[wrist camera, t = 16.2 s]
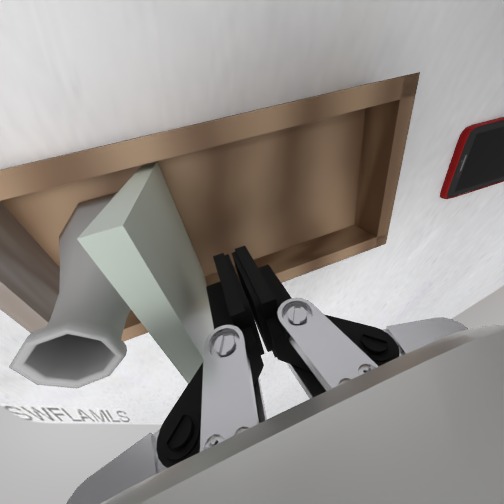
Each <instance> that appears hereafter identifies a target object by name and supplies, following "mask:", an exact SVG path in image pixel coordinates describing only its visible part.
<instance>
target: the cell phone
mask: <svg viewBox="0 0 504 504" xmlns="http://www.w3.org/2000/svg"><path fill="white" fill-rule="evenodd" d="M503 181H504V118H497V119H494V120H490V121H486V122H482V123H478V124H474V125H471V126H469V127H467V128H465V129H464V130H463V132H462V133H461V135H460V137H459V140H458V142H457V145H456V148H455V151H454V154H453V157H452V160H451V163H450V166H449V169H448V171H447V174H446V177H445V180H444V183H443V186H442V189H441V193H440V197H441V198H444V199H449V198H454V197H457V196H460V195H463V194H466V193H469V192H472V191H475V190H479V189H482V188H485V187H488V186H491V185H494V184H497V183H500V182H503ZM465 192H466V193H465ZM462 193H463V194H462ZM459 194H460V195H459Z"/></svg>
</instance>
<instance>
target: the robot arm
mask: <svg viewBox="0 0 504 504" xmlns="http://www.w3.org/2000/svg"><path fill="white" fill-rule="evenodd" d="M232 257H233V260H234V263H235V266H236V270H237V273H238V276H239V278H238V276H237V273H236V271H235V269H234V266H233V264H232V261H231V259H230V257H229V254H227V255H224V253H221V254H218V255H215V256H213V258H214V262H215V265H216V269H217V272H218V276H219V279H220V282H217V283H214V284H212V285H209V286H206V289H207V295H208V300H209V305H210V310H211V315H212V321H213V326H214V330H213V331H212V332H211V333H210V334H209V335H208V337H207V339H206V341H205V344H204V356H203V363H202V364H201V366H200V367H199V369H198V370H197V372H196V373H195V375H194V376H193V378H192V379H191V381H190V383H189V384H188V386H187V387H186V389H185V390H184V392H183V393H182V395H181V396H180V398H179V399H178V401H177V402H176V404H175V406H174V407H173V409H172V410H171V412H170V413H169V415H168V416H167V418H166V419H165V421H164V423H163V425H162V427H161V429H160V430H158V431H157V432H156V433H154V434H152V433H149V434H148V435H147V436H145V437H144V438H142V439H141V440H140V441H138V442H137V443H135V444H134V445H133V446H131V447H130V448H129V449H127V450H126V451H124V452H123V453H122V454H120V455H119V456H118V457H116V458H115V459H114V460H112V461H111V462H109V463H108V464H107V465H105V466H104V467H102V468H101V469H100V470H98V471H97V472H96V473H94V474H93V475H91V476H90V477H89V478H87V479H86V480H85V481H84V482H83V483H82V484H81V485H80V486H79V487H78V488H77V489H76V490H75V492H74V493H73V495H72V496H71V497H70V498H69V500H68V502H67V504H504V325H494V326H482V327H476V328H471V329H468V328H467V327H465V326H464V325H462V324H461V323H459V322H457V321H454V320H452V319H448V318H432V319H426V320H420V321H415V322H409V323H403V324H398V325H392V326H387V327H386V329H384V330H381V329H378V328H375V327H372V326H368V325H364V324H360V323H356V322H352V321H348V320H344V319H340V318H336V317H332V316H328V315H324V314H323V313H322V312H321V311H320V310H319V309H318V308H317V307H315V306H314V305H313V304H312V303H311V302H309V301H308V300H305V299H303V298H291V297H290V295H289V294H288V292H287V291H286V289H285V288H284V286H283V285H282V283H281V282H280V280H279V279H278V278H277V276H276V275H275V273H274V272H273V270H272V269H271V267H270V266H269V265H268V264H267V265H264V266H261V267H259V268H258V267H257V265H256V263H255V262H254V260H253V258H252V257H251V255H250V253H249V251H248V250H247V248H246V246H242V247H239V248H236V249H235V252H233V253H232ZM239 279H240V281H239ZM255 322H256V323H255ZM256 325H257V327H258V329H259V332H260V334H261V337H262V339H263V342H264V344H265V346H266V349H267V351H268V352H269V351H273V354H274V356H275V357H277V358H278V359H279V360H281V361H284V362H286V363H287V364H288V366H289V368H290V369H291V371H292V372H293V374H294V376H295V377H296V379H297V380H298V382H299V383H300V385H301V386H302V388H303V389H304V391H305V392H306V394H307V395H308V397H309V398H310V399H309V400H307V401H305V402H303V403H301V404H299V405H297V406H295V407H293V408H291V409H288V410H286V411H284V412H282V413H280V414H278V415H276V416H274V417H272V418H270V419H268V420H267V418H266V412H265V407H264V401H263V396H262V390H261V384H260V380H259V375H260V373H261V371H262V369H263V366H264V365H263V362H262V358H261V355H262V354H264V350H263V347H262V344H261V340H260V337H259V334H258V330H257V327H256Z"/></svg>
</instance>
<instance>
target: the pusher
mask: <svg viewBox="0 0 504 504" xmlns="http://www.w3.org/2000/svg"><path fill="white" fill-rule="evenodd" d="M77 240H78V241H79V242H80V244H81V245H82V246H83V248H84V249H85V250H86V252H87V253H88V254H89V255H90V257H91V258H92V259H93V261H94V262H95V263H96V265H97V266H98V267H99V268H100V270H101V271H102V272H103V274H104V275H105V276H106V277H107V279H108V280H109V281H110V283H111V284H112V285H113V287H114V288H115V289H116V290H117V292H118V293H119V294H120V296H121V297H122V298H123V300H124V301H125V302H126V303H127V305H128V306H129V307H130V309H131V310H132V311H133V313H134V314H135V315H136V316H137V318H138V319H139V320H140V322H141V323H142V324H143V325H144V327H145V328H146V329H147V331H148V332H149V333H150V335H151V336H152V337H153V338H154V340H155V341H156V342H157V344H158V345H159V346H160V348H161V349H162V350H163V351H164V353H165V354H166V355H167V357H168V358H169V359H170V361H171V362H172V363H173V364H174V366H175V367H176V368H177V370H178V371H179V372H180V373H181V375H182V376H183V377H184V379H185V380H186V381H187V383H188V384H189V383H190V381H191V379H192V378H193V376H194V375H195V373H196V372H197V370H198V369H199V367H200V366H201V364H202V363H203V356H204V344H205V341H206V339H207V337H208V335H209V334H210V333H211V332H212V331H213V330H214V326H213V321H212V315H211V310H210V305H209V300H208V295H207V289H206V286H207V284H206V279H205V275H204V272H203V270H202V268H201V265H200V263H199V261H198V258H197V256H196V253H195V251H194V249H193V246H192V244H191V241H190V239H189V237H188V234H187V232H186V229H185V227H184V225H183V222H182V220H181V217H180V215H179V213H178V210H177V208H176V206H175V203H174V201H173V198H172V196H171V194H170V191H169V189H168V186H167V184H166V182H165V179H164V177H163V174H162V172H161V170H160V167H159V165H158V162H153V163H149V164H146V165H142V166H141V167H140V168H139V169H138V170H137V171H136V172H135V174H134V175H133V176H132V177H131V178H130V179H129V180H128V181H127V183H126V184H125V185H124V186H123V187H122V188H121V189H120V191H119V192H118V193H117V194H116V195H115V196H114V197H113V198H112V200H111V201H110V202H109V203H108V204H107V205H106V206H105V207H104V209H103V210H102V211H101V212H100V213H99V214H98V215H97V217H96V218H95V219H94V220H93V221H92V222H91V223H90V224H89V226H88V227H87V228H86V229H85V230H84V231H83V232H82V234H81V235H80V236H79V237H78V238H77Z"/></svg>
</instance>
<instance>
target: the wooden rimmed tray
mask: <svg viewBox="0 0 504 504" xmlns="http://www.w3.org/2000/svg"><path fill="white" fill-rule="evenodd" d="M419 74H420V72H419V73H415V74H410V75H406V76H401V77H397V78H392V79H388V80H383V81H379V82H374V83H370V84H366V85H361V86H357V87H353V88H348V89H344V90H340V91H336V92H331V93H327V94H323V95H318V96H314V97H310V98H306V99H301V100H297V101H293V102H288V103H284V104H280V105H276V106H271V107H267V108H263V109H258V110H254V111H250V112H246V113H241V114H237V115H233V116H229V117H224V118H220V119H216V120H211V121H207V122H203V123H199V124H194V125H190V126H186V127H181V128H177V129H173V130H169V131H164V132H160V133H156V134H151V135H147V136H143V137H139V138H134V139H130V140H126V141H122V142H117V143H113V144H109V145H104V146H100V147H96V148H92V149H87V150H83V151H79V152H74V153H70V154H66V155H62V156H57V157H53V158H49V159H44V160H40V161H36V162H32V163H27V164H23V165H19V166H14V167H10V168H6V169H2V170H0V309H1V310H2V311H3V312H4V313H6V314H7V315H8V316H10V317H11V318H12V319H14V320H15V321H16V322H17V323H19V324H20V325H21V326H23V327H24V328H25V329H26V330H28V331H29V332H30V333H33V332H34V331H36V330H39V329H42V328H45V327H46V326H47V324H48V323H49V321H50V319H51V316H52V313H53V310H54V307H55V304H56V301H57V298H58V295H59V285H60V254H59V235H60V234H61V232H62V230H63V229H64V227H65V225H66V223H67V222H68V220H69V218H70V217H71V215H72V213H73V211H74V210H75V208H76V206H77V205H78V203H80V202H83V201H87V200H91V199H95V198H98V197H102V196H106V195H109V194H113V193H117V192H119V191H120V189H121V188H122V187H123V186H124V185H125V184H126V183H127V181H128V180H129V179H130V178H131V177H132V176H133V175H134V174H135V172H136V171H137V170H138V169H139V168H140V167H141V166H142V165H146V164H149V163H153V162H158V165H159V167H160V170H161V172H162V174H163V177H164V179H165V182H166V184H167V186H168V189H169V191H170V194H171V196H172V198H173V201H174V203H175V206H176V208H177V210H178V213H179V215H180V217H181V220H182V222H183V225H184V227H185V229H186V232H187V234H188V237H189V239H190V241H191V244H192V246H193V249H194V251H195V253H196V256H197V258H198V261H199V263H200V265H201V268H202V270H203V272H204V275H205V279H206V284H207V286H209V285H212V284H214V283H217V282H220V279H219V276H218V272H217V269H216V265H215V262H214V258H213V256H215V255H218V254H221V253H224V255H227V254H229V257H230V259H231V261H232V264H233V266H234V269H235V271H236V273H237V270H236V266H235V263H234V260H233V257H232V253H233V252H235V249H236V248H239V247H242V246H246V248H247V250H248V251H249V253H250V255H251V257H252V258H253V260H254V262H255V263H256V265H257V267H258V268H259V267H261V266H264V265H267V264H268V265H269V266H270V267H271V269H272V270H273V272H274V273H275V275H276V276H277V278H278V279H279V280H280V282H281V283H282V282H284V281H287V280H290V279H292V278H295V277H298V276H300V275H303V274H306V273H309V272H311V271H314V270H317V269H319V268H322V267H325V266H327V265H330V264H333V263H335V262H338V261H341V260H343V259H346V258H349V257H351V256H354V255H357V254H359V253H362V252H365V251H368V250H370V249H373V248H376V247H378V246H381V245H384V244H386V240H387V235H388V230H389V225H390V220H391V215H392V210H393V205H394V200H395V195H396V190H397V185H398V180H399V175H400V170H401V165H402V160H403V154H404V149H405V144H406V139H407V134H408V129H409V124H410V119H411V114H412V109H413V104H414V99H415V94H416V89H417V84H418V79H419ZM237 276H238V273H237ZM238 278H239V276H238ZM239 281H240V279H239ZM145 333H148V331H147V329H146V328H145V327H144V325H143V324H142V323H141V322H140V320H139V319H138V318H137V316H136V315H135V314H134V313H133V311H132V310H131V311H130V313H129V314H128V316H127V319H126V322H125V326H124V329H123V333H122V338H121V340H122V341H126V340H129V339H131V338H134V337H137V336H139V335H142V334H145Z"/></svg>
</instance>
